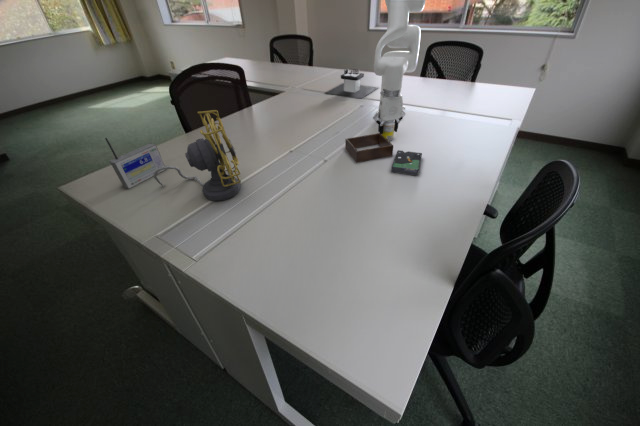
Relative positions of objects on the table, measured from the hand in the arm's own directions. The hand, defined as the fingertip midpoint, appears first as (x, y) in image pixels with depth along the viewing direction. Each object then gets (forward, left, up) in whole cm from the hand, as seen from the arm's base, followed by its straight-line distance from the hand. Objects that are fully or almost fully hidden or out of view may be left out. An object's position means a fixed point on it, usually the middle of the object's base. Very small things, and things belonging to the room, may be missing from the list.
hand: (387, 131), depth 138 cm
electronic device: (+109, -3, -4) cm, 109 cm away
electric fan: (+85, +19, -4) cm, 87 cm away
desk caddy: (+14, +10, -3) cm, 18 cm away
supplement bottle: (0, 0, -4) cm, 4 cm away
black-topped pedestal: (-12, -79, -4) cm, 80 cm away
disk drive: (+4, +26, -4) cm, 27 cm away
